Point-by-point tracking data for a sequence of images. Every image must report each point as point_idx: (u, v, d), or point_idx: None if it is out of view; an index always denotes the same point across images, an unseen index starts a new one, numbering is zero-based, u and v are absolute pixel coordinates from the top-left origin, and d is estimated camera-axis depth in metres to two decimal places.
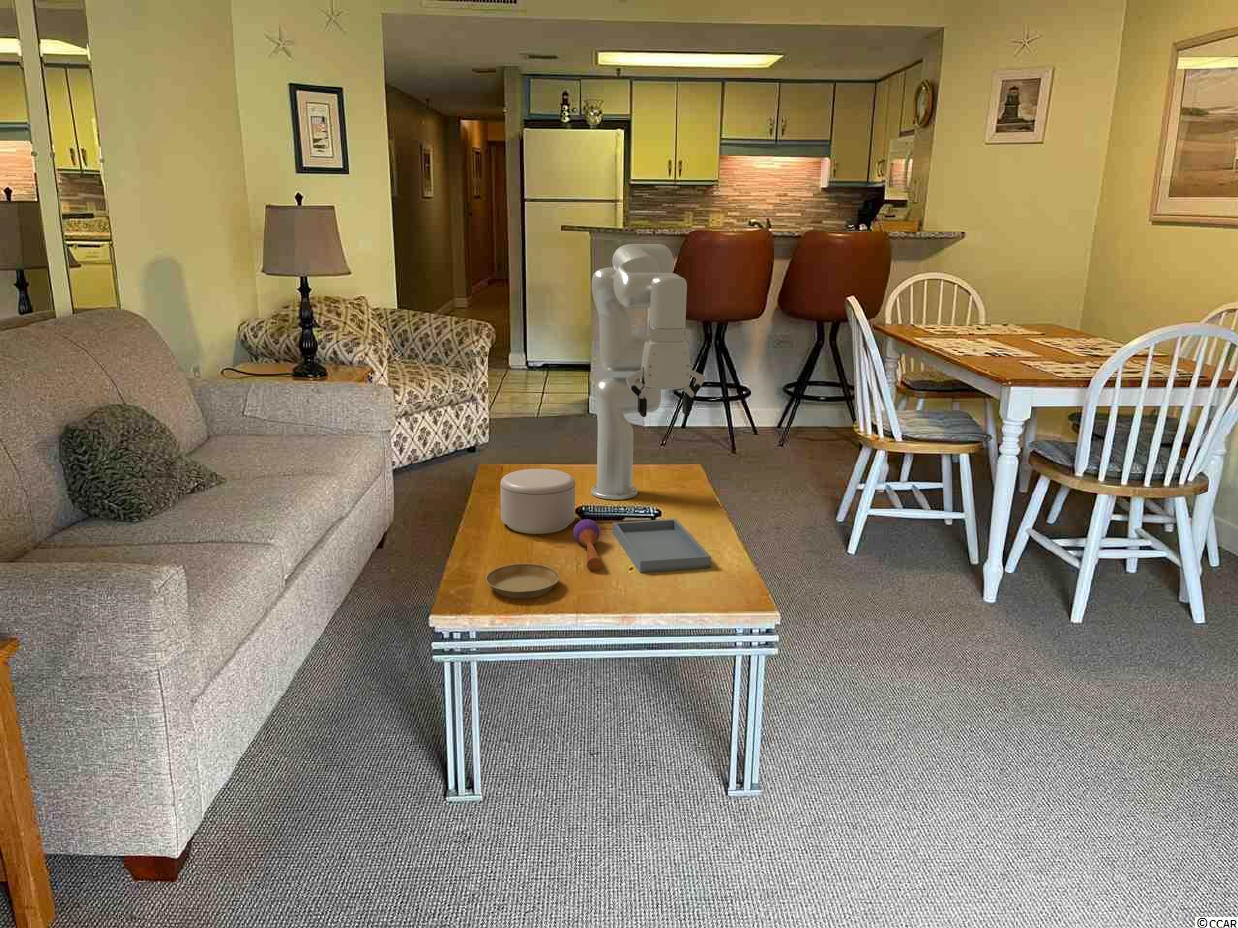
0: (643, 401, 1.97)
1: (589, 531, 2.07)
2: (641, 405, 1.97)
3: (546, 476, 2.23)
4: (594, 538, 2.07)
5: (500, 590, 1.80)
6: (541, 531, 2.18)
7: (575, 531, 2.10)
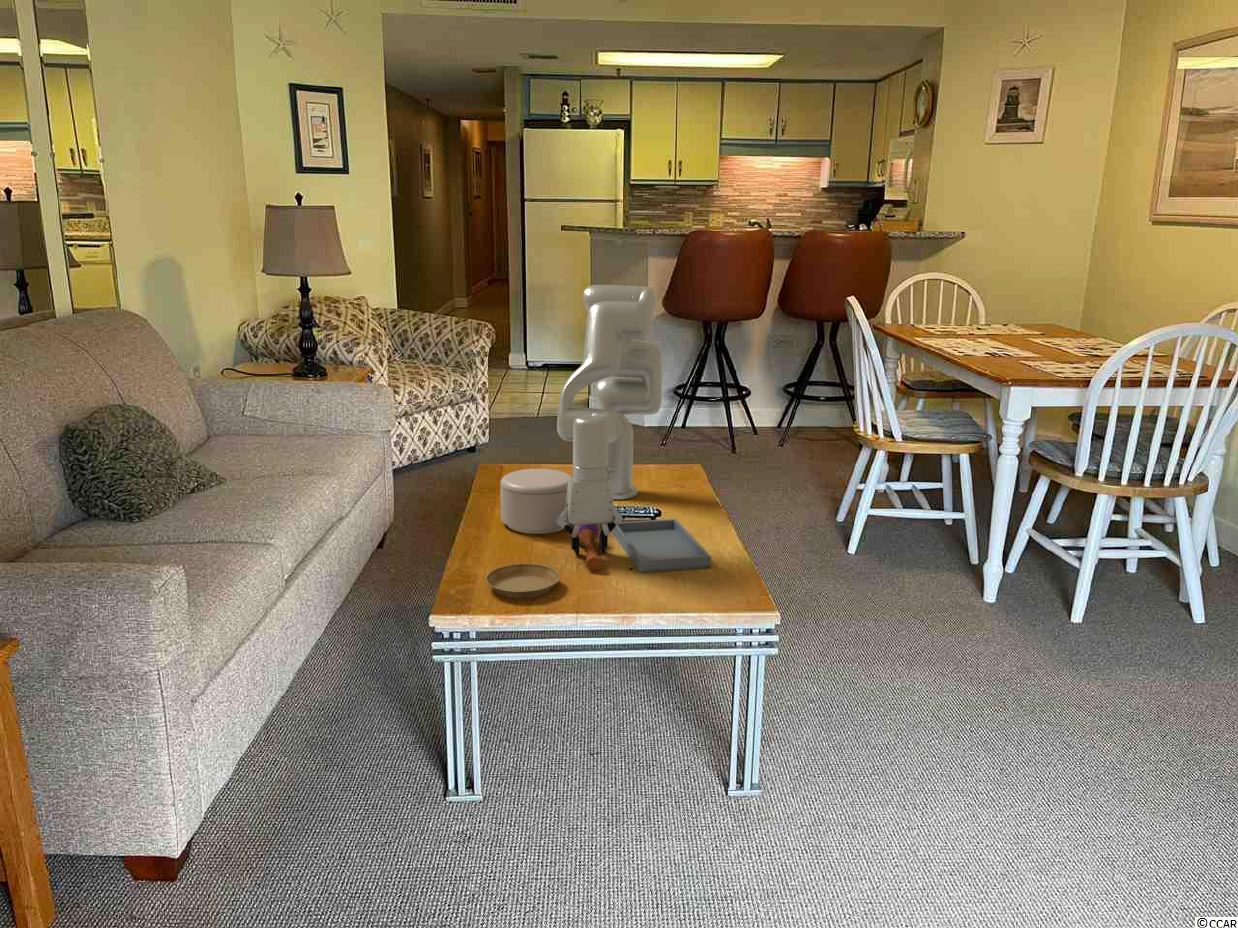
0: (576, 540, 2.02)
1: (588, 530, 2.07)
2: (574, 543, 2.03)
3: (546, 475, 2.23)
4: (593, 538, 2.06)
5: (500, 590, 1.80)
6: (541, 531, 2.18)
7: None
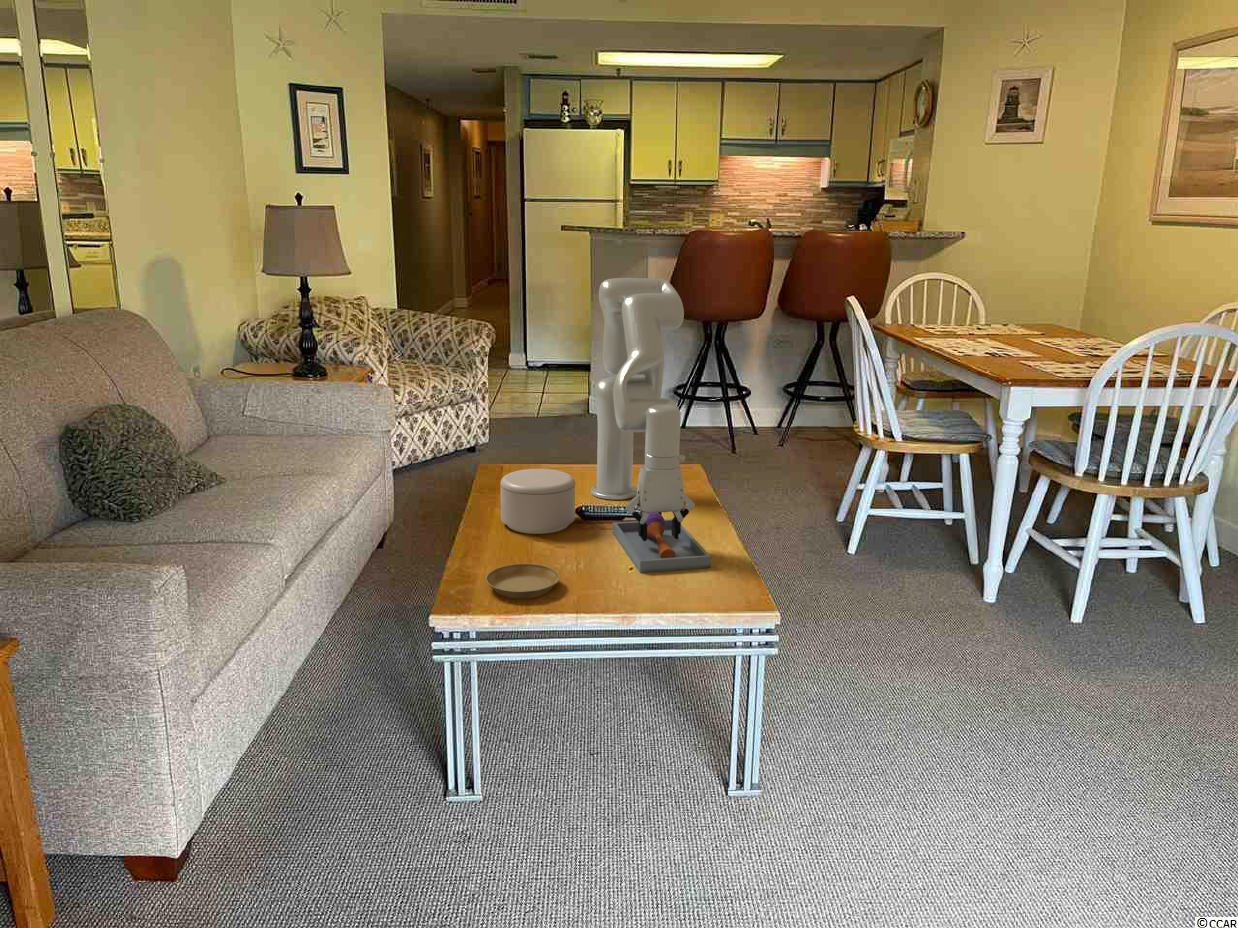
0: (644, 526, 2.05)
1: (656, 523, 2.10)
2: (642, 530, 2.06)
3: (546, 476, 2.23)
4: (662, 530, 2.10)
5: (500, 590, 1.80)
6: (541, 531, 2.18)
7: None
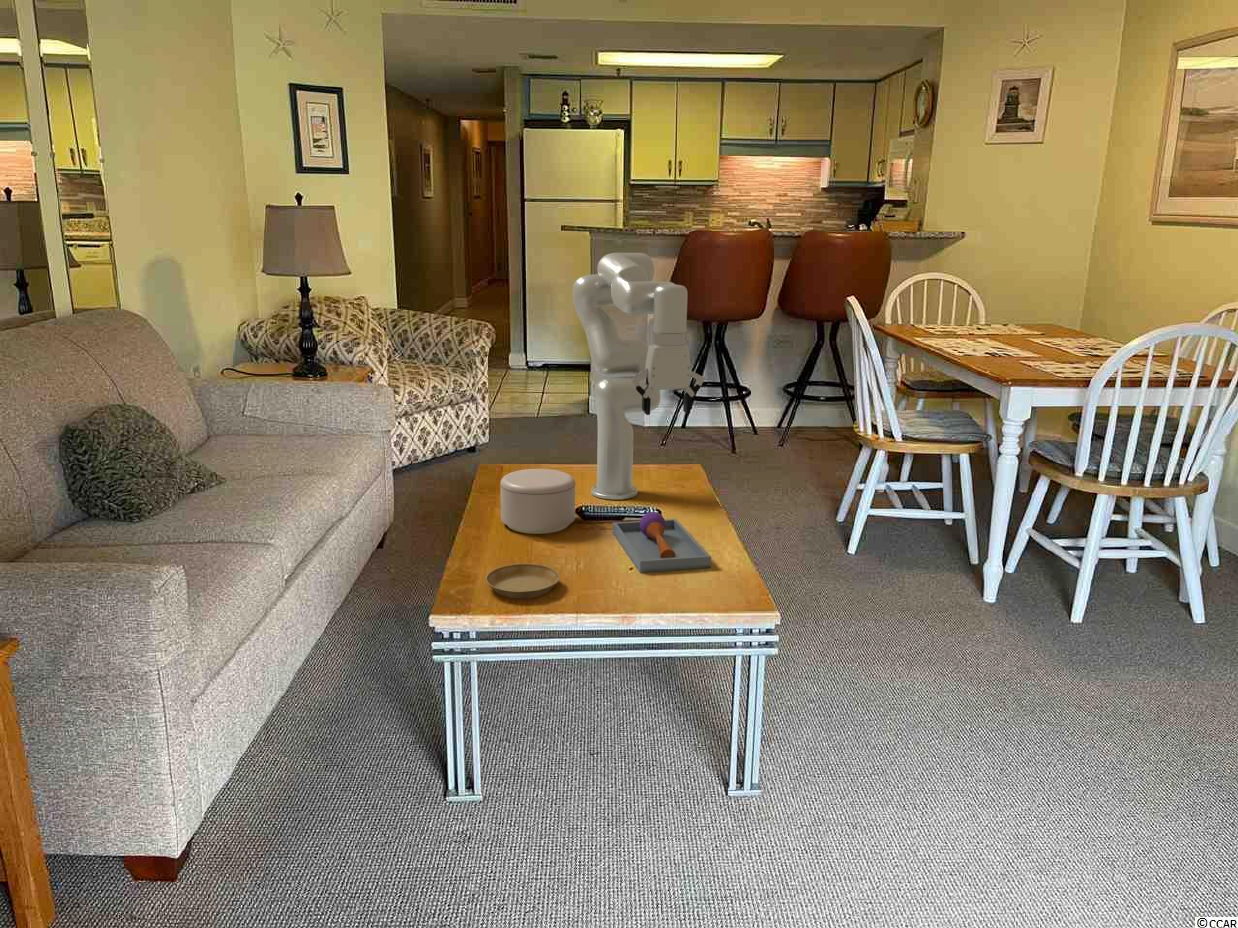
0: (647, 400, 2.13)
1: (657, 523, 2.10)
2: (645, 404, 2.13)
3: (546, 475, 2.23)
4: (662, 530, 2.10)
5: (500, 590, 1.80)
6: (541, 531, 2.18)
7: (642, 524, 2.13)
